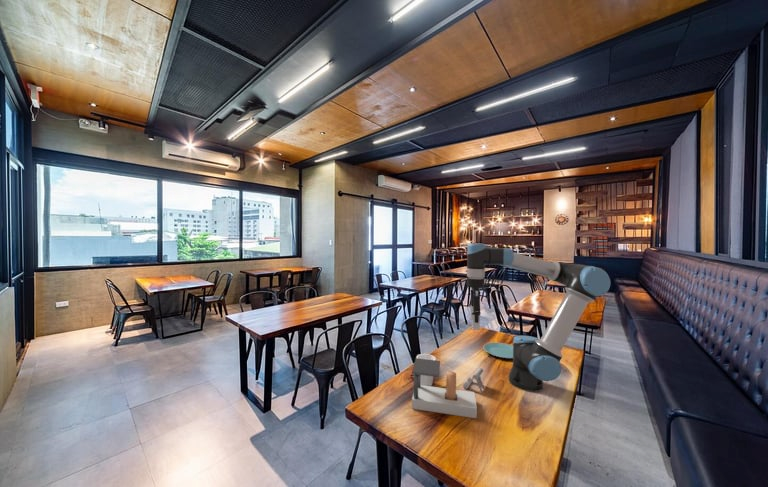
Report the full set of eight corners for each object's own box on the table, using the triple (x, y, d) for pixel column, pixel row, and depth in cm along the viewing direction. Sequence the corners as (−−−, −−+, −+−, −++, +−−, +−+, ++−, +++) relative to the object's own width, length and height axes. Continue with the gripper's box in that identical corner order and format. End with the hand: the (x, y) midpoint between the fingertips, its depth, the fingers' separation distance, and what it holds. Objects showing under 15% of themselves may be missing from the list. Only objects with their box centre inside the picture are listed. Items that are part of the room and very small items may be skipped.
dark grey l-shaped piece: (439, 387, 127) (440, 360, 127) (438, 403, 114) (438, 374, 114) (415, 383, 129) (415, 358, 129) (411, 399, 117) (412, 371, 116)
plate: (528, 362, 162) (529, 357, 162) (490, 361, 163) (490, 356, 163) (512, 346, 185) (512, 342, 185) (478, 346, 185) (478, 342, 185)
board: (474, 401, 123) (474, 392, 123) (476, 418, 111) (476, 408, 111) (415, 392, 129) (415, 384, 129) (411, 408, 117) (411, 399, 117)
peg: (455, 403, 121) (456, 371, 121) (455, 409, 117) (456, 376, 117) (446, 402, 122) (446, 370, 122) (445, 407, 118) (446, 375, 118)
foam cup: (435, 390, 131) (435, 363, 131) (415, 388, 133) (415, 361, 133) (435, 380, 141) (435, 354, 140) (417, 378, 142) (417, 353, 142)
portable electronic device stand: (469, 381, 140) (469, 364, 140) (485, 386, 136) (485, 369, 135) (463, 388, 133) (463, 371, 133) (479, 394, 129) (480, 376, 128)
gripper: (465, 273, 138) (464, 316, 139) (468, 281, 114) (467, 333, 115) (481, 274, 137) (480, 317, 137) (488, 282, 112) (487, 334, 113)
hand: (474, 324), depth 126 cm, fingers open, 13 cm apart
